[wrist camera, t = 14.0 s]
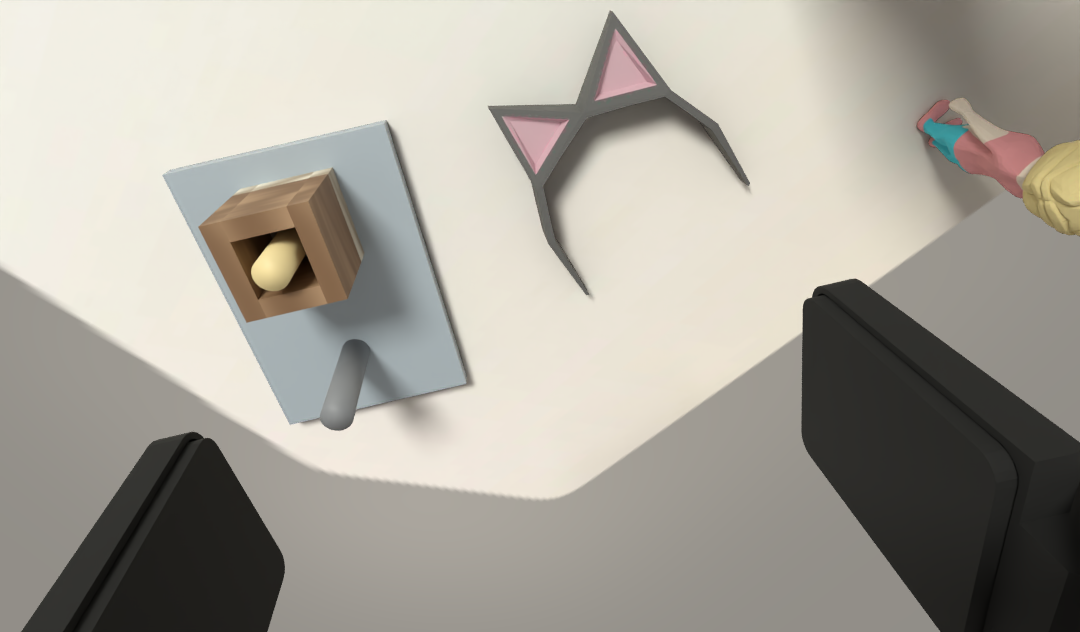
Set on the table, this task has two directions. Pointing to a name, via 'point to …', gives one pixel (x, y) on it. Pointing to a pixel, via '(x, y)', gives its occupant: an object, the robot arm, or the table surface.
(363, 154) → the board
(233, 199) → the sleeve
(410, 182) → the table surface
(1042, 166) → the toy
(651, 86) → the headband
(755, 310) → the table surface
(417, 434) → the table surface
